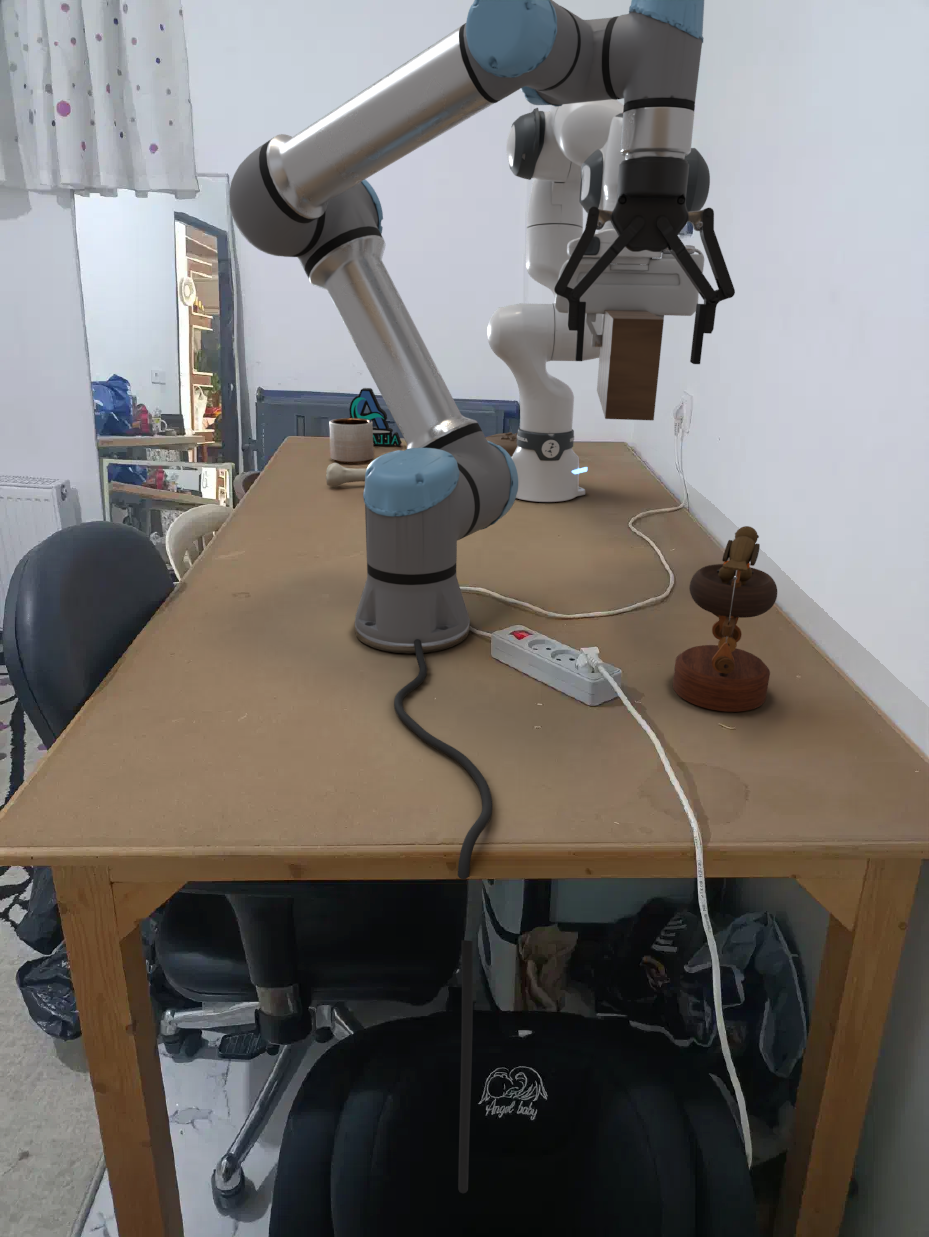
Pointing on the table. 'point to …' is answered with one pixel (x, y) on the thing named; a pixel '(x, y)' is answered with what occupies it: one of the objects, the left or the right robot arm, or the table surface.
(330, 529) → the table surface
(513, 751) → the table surface
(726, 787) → the table surface
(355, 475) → the dog toy
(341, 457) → the planter
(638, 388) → the box
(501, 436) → the brown flat oval slab
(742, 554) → the music box
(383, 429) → the decorative sign
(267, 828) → the table surface
